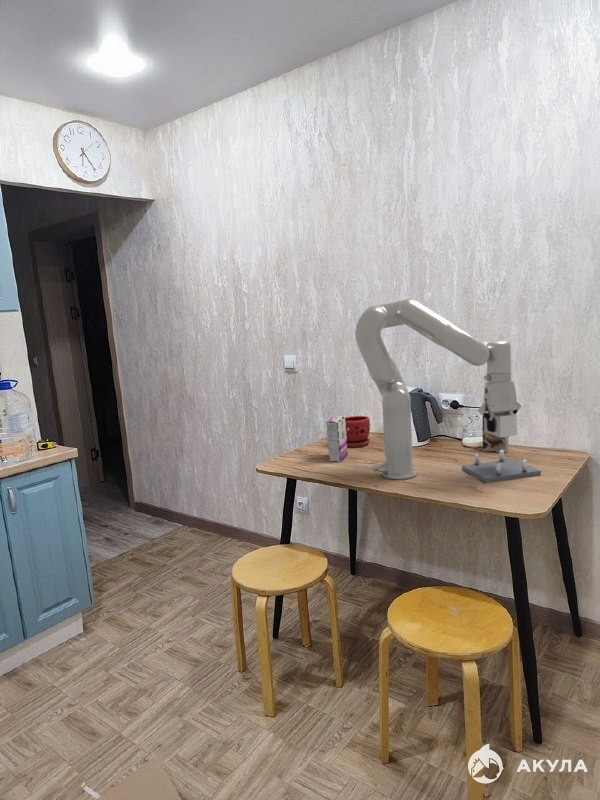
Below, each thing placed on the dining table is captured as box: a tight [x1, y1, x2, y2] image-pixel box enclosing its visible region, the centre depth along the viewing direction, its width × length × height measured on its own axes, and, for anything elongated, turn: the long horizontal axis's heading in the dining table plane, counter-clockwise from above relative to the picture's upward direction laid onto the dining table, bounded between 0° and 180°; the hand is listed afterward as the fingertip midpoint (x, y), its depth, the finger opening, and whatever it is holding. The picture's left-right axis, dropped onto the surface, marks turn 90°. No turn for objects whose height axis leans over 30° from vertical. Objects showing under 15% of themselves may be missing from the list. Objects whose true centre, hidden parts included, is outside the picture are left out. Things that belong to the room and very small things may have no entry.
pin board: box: [461, 458, 542, 484], centre depth 188 cm, size 20×16×2 cm
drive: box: [484, 412, 518, 438], centre depth 185 cm, size 6×10×7 cm, turn 12°
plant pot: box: [345, 415, 371, 448], centre depth 239 cm, size 13×13×12 cm
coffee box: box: [482, 410, 509, 453], centre depth 214 cm, size 9×6×16 cm
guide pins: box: [474, 450, 528, 476], centre depth 187 cm, size 11×15×4 cm
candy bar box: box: [326, 415, 349, 463], centre depth 219 cm, size 11×5×16 cm, turn 160°
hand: (500, 429), depth 185 cm, fingers closed on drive, 6 cm apart
